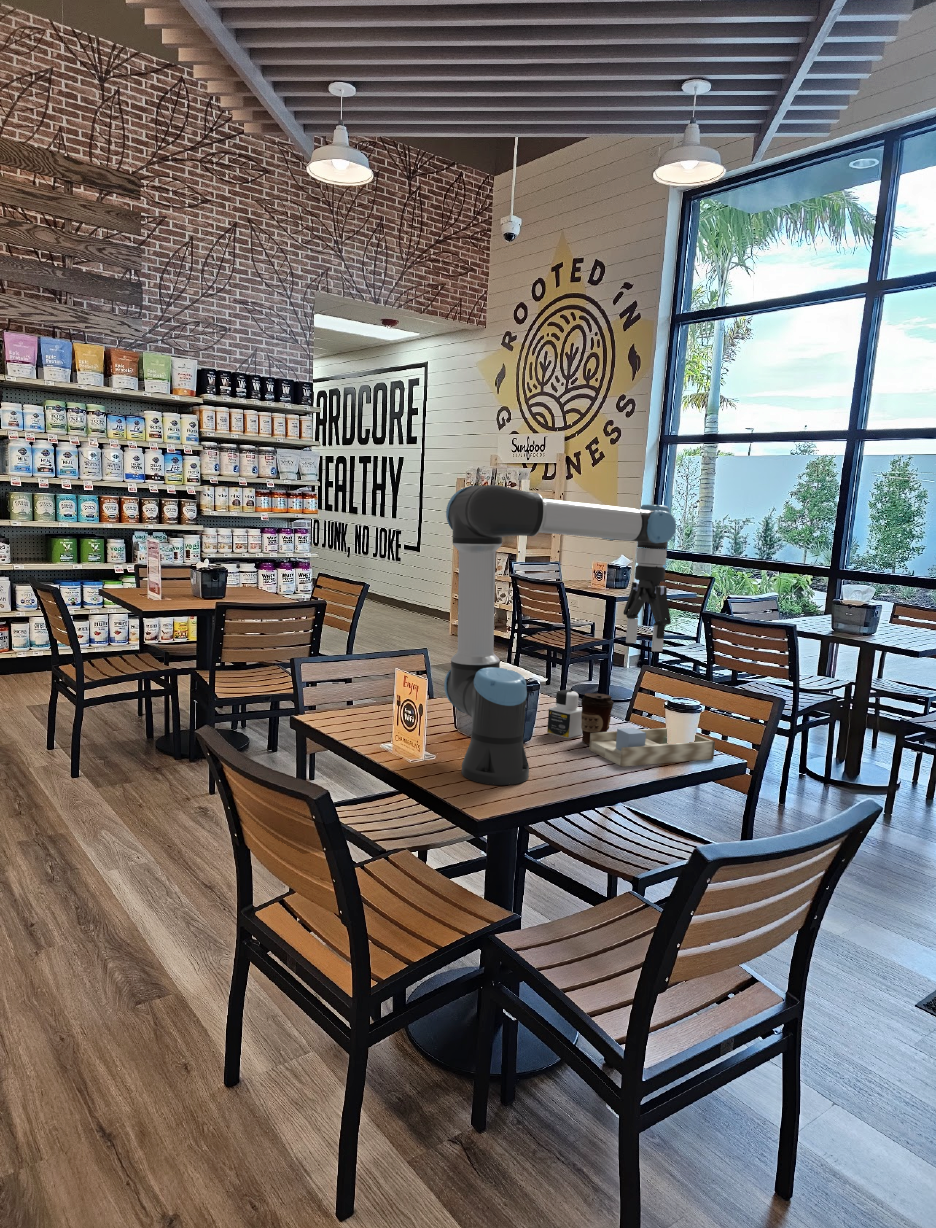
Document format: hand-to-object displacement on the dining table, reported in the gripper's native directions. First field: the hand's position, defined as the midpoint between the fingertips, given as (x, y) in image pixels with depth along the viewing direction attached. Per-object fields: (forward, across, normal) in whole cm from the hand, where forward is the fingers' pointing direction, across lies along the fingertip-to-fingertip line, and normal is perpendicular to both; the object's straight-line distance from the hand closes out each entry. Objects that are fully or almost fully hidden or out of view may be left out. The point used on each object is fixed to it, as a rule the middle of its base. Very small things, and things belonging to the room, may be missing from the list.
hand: (643, 647), depth 206 cm
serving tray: (+27, -7, -1) cm, 28 cm away
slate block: (+24, -11, +8) cm, 28 cm away
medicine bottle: (+27, +14, +14) cm, 33 cm away
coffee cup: (+27, +4, +10) cm, 29 cm away
